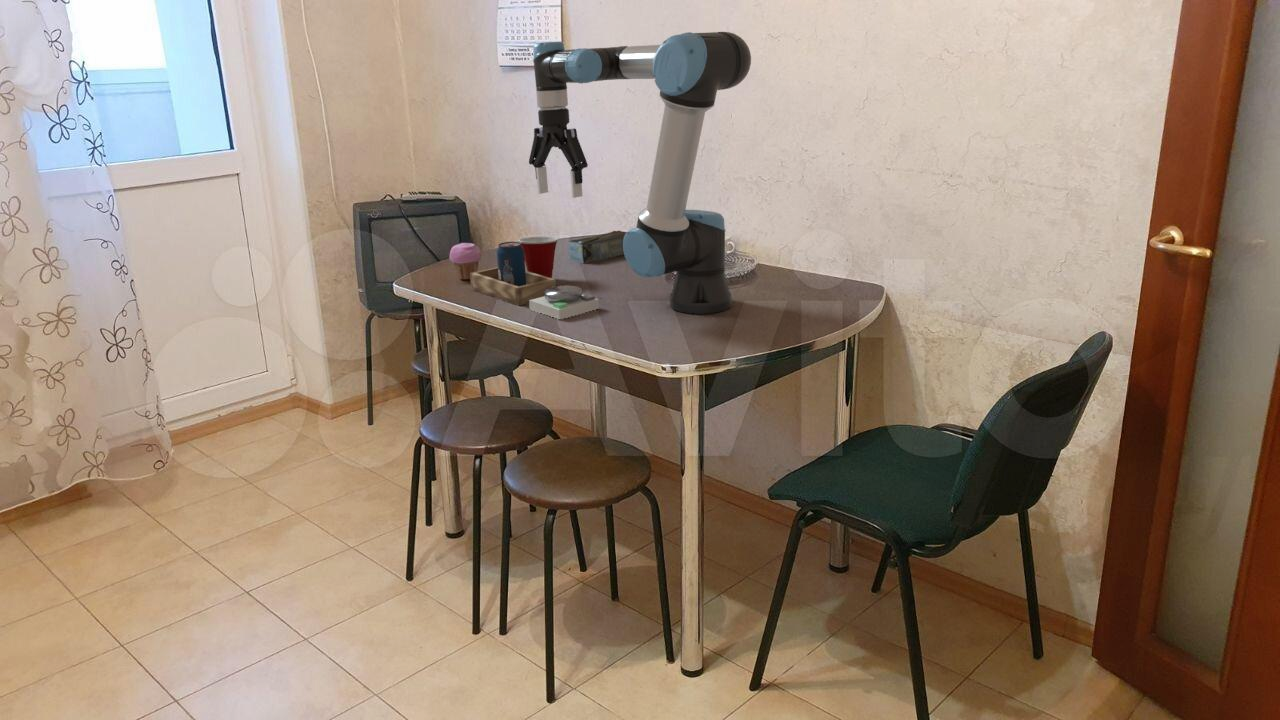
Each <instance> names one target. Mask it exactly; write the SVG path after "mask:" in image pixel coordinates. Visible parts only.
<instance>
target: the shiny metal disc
mask: <svg viewBox="0 0 1280 720" xmlns="http://www.w3.org/2000/svg"><path fill="white" fill-rule="evenodd" d="M582 295H583V290H582V288H581V287H579V286H575V285H558V286H556V285H555V287H551V288H548V289H546V290H545V299H546V300H549V301H554V302H567V301H573V300H577V299H579V298H581V297H582Z"/></svg>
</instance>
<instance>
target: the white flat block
mask: <svg viewBox="0 0 1280 720" xmlns="http://www.w3.org/2000/svg"><path fill="white" fill-rule="evenodd" d="M528 304H529V305H528V306H529V311H532V312H534V311H535V312H534V313H537V312H538V314H540V313H542V314H541V315H543V314H546V315H549V316H551V317H550V318H552V317H554V318H553V319H555V318H557V319H556V320H558V319H562V320H564V319H563V318H566V319H568V317H569V318H572V317H571V316H573V317H575V315H576V316H579V314H580V315H583V314H586V313H585V312H587V313H589V312H588V311H591V312H593V311H592V310H594V311H597V310H596V309H598V310H599V309H600V302H599V299H598V298H596V297H595V295H592V294H589V293H588V294H582V297H581V298H579V299H577V300H573V301H567V302H554V301H549V300H546V299H545V296H544V297H540V298H536V299H532V300H529V303H528ZM582 313H583V314H582ZM546 315H545V316H546ZM549 316H548V317H549Z"/></svg>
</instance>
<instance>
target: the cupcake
mask: <svg viewBox="0 0 1280 720" xmlns="http://www.w3.org/2000/svg"><path fill="white" fill-rule="evenodd" d="M481 252H482V251H481V249H480V248H479V247H478V246H477V245H476V244H475V243H471V242H460V243H458V244H455V245H453V246H452V247H451V249H450V251H449V261H450V262H452V263H453V265H454V267H455V269H456V273H457V277H458V278H459V279H460V280H463V281H464V280H470V273H473V272H477V271H478V268H479V261H481V259H482V253H481Z"/></svg>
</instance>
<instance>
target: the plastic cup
mask: <svg viewBox="0 0 1280 720" xmlns="http://www.w3.org/2000/svg"><path fill="white" fill-rule="evenodd" d="M558 241H559V237H556V236H544V235H543V236H528V237H521V238H519V239H517V242H519V243H521V246H522V248H523V249H524V259H525V269H526V271H528V272H532V273H535V274H539V275H542V276H546V277H549V278H552V279H553V270H554V262H555V255H556V248H557V244H558Z"/></svg>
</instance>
